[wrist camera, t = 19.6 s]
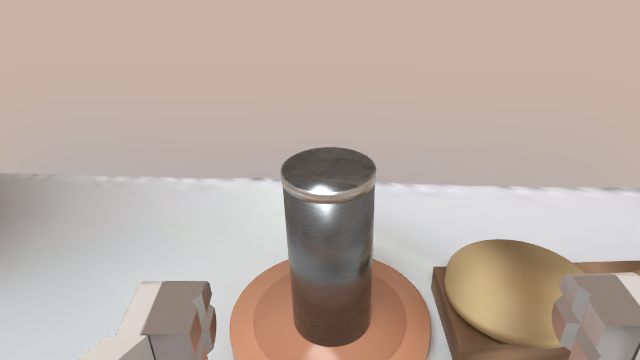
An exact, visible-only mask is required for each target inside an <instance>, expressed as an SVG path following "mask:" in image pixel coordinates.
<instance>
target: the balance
mask: <svg viewBox="0 0 640 360" xmlns="http://www.w3.org/2000/svg"><path fill="white" fill-rule="evenodd" d="M628 272H633V273H635V274H637V275H639V276H640V261H614V262H581V263H572V262H570V261H569V260H567V259H566V258H564V257H562V256H560V255H559V254H557V253H555V252H552V251H550V250H548V249H545V248H543V247H540V246H537V245H534V244H530V243H526V242H521V241H515V240H500V239H495V240H485V241H479V242H476V243H472V244H470V245H467V246H465V247H463V248H461V249H460V250H459V251H457V252H456V253H455V254H454V255H453V256H452V257H451V259H450V260H449V262H448V265H447V267H434V269H433V278H432V286H431V289H432V292H433V295H434V299H435V302H436V305H437V309H438V312H439V315H440V319H441V322H442V325H443V329H444V332H445V335H446V339H447V342H448V345H449V349H450V352H451V355H452V359H453V360H569V357H570V353H571V351H570V350H569V349H567V348H566V347H564V346H563V345H562V344H560V343H559V341H558V339H557V337H556V335H555V332H554V329H553V326H552V314H551V313H552V309H553V305H554V302H555V301H556V300H557V299H559V298H560V297H561V296H562V295H563V294H562V292H561V291H560V289H559V285H560V282H561V279H562V278H563V277H564V276H565V275H569V274H610V273H628Z"/></svg>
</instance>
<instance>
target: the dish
mask: <svg viewBox="0 0 640 360" xmlns="http://www.w3.org/2000/svg"><path fill="white" fill-rule="evenodd" d="M430 334H431V321H430V316H429V311H428V309H427V306H426V303H425V301H424V299H423V298H422V296H421V294H420V293H419V291H418V290H417V289H416V287H415V286H414V285H413V284H412V283H411V282H410V281H409V280H408V279H407V278H406V277H404V276H403V275H402V274H401V273H399V272H398V271H396V270H395V269H393V268H391V267H390V266H388V265H385V264H383V263H381V262H379V261H376V260H374V259H372V288H371V319H370V325H369V327H368V329H367V331H366V332H365V334H364V335H363V336H362V337H361V338H359V339H358V340H356V341H355V342H353V343H350V344H348V345H344V346H340V347H324V346H319V345H316V344H313V343H311V342H309V341H307V340H306V339H304V338H303V337H302V336H301V335H300V334H299V332H298V331H297V329H296V327H295V324H294V317H293V305H292V293H291V280H290V268H289V260H286V261H283V262H281V263H279V264H277V265H275V266H273V267H271V268H269V269H268V270H266V271H264V272H263V273H262V274H260V275H259V276H257V277H256V278H255V279H254V280H253V281H252V282H251V283H250V284H249V285H248V286H247V287H246V288H245V289H244V291H243V292H242V293H241V295H240V296H239V298H238V300H237V302H236V304H235V306H234V308H233V311H232V315H231V319H230V340H231V346H232V351H233V356H234V360H426V358H427V355H428V349H429V343H430Z"/></svg>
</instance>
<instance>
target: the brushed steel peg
mask: <svg viewBox="0 0 640 360" xmlns="http://www.w3.org/2000/svg"><path fill="white" fill-rule="evenodd" d="M281 181H282V186H283V194H284V206H285V218H286V231H287V243H288V256H289V268H290V280H291V293H292V305H293V317H294V324H295V327H296V329H297V331H298V332H299V334H300V335H301V336H302V337H303V338H304V339H306V340H307V341H309V342H311V343H313V344H316V345H319V346H324V347H340V346H344V345H348V344H350V343H353V342H355V341H356V340H358V339H359V338H361V337H362V336H363V335H364V334H365V332H366V331H367V329H368V327H369V325H370V319H371V288H372V255H373V222H374V190H375V181H376V166H375V164H374V162H373V161H372V160H371V159H370V158H369V157H368V156H366V155H364V154H362V153H360V152H357V151H354V150H350V149H345V148H336V147H324V148H315V149H310V150H306V151H303V152H300V153H297V154H295V155H293V156H292V157H290V158H289V159H287V160H286V161H285V163H284V164H283V165H282V167H281Z"/></svg>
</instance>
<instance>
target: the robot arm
mask: <svg viewBox="0 0 640 360" xmlns="http://www.w3.org/2000/svg"><path fill="white" fill-rule="evenodd" d="M559 289H560V291H561V292H562V294H563V295H562V296H561V297H560V298H559V299H557V300H556V301H555V302H554V305H553V309H552V313H551V314H552V326H553V329H554V332H555V335H556V337H557V339H558V341H559V343H560V344H562V345H563V346H564V347H566V348H567V349H569V350H570V351H571V353H570V357H569V360H640V276H639V275H637V274H635V273H633V272H628V273H610V274H569V275H565V276H564V277H563V278H562V279H561V282H560V285H559ZM211 295H212V292H211V288H210V284H209V283H208V282H207V281H165V282H149V281H143V282H142V283H141V284H140V285H139V286H138V288H137V290H136V292H135V294H134V297H133V299H132V301H131V303H130V305H129V307H128V309H127V312H126V314H125V316H124V318H123V320H122V322H121V324H120V326H119V329H118V331H117V333H116V335H115V336H108V337H107V338H105V339H104V340H103V341H101V342H100V343H99V344H97V345H96V346H95V347H93V348H92V349H91V350H89V351H88V352H87V353H85V354H84V355H83V356H81V357H80V358H79V359H77V360H208V357H207V354H208V353H209V352H210V351H212V350H213V347H214V342H215V336H216V314H215V308H214V307H213V306H211V305H210V304H209V303H210V299H211Z"/></svg>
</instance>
